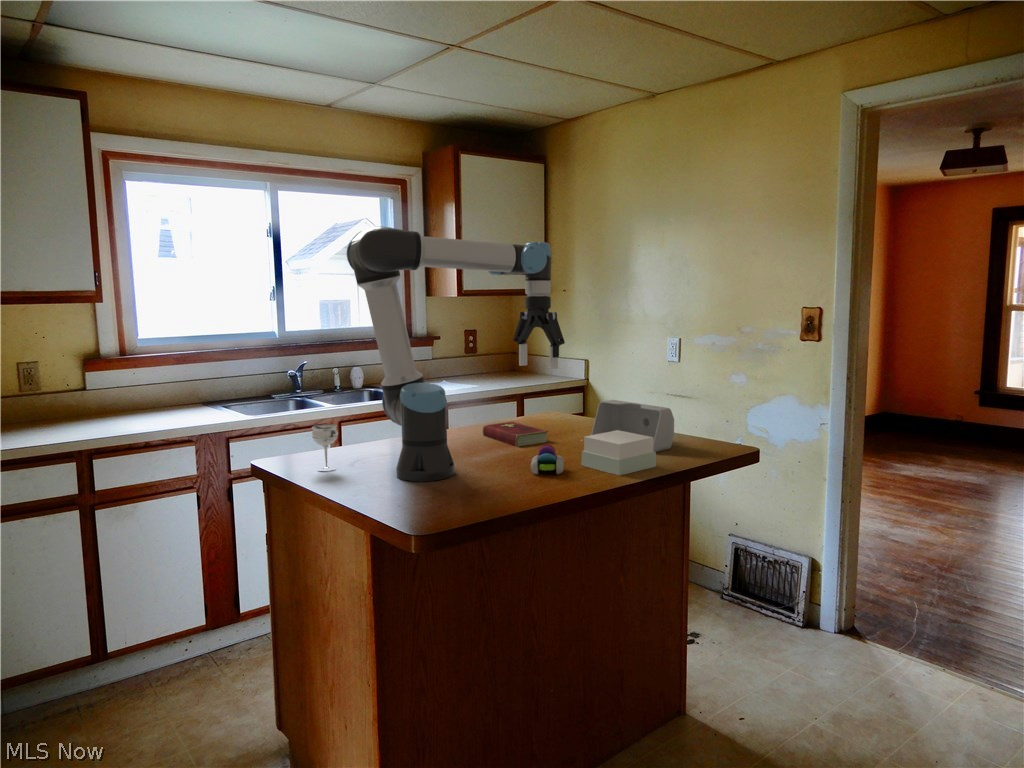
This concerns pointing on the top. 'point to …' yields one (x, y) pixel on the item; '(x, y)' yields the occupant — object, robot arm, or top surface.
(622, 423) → the light grey storage bin
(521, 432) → the hardcover book
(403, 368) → the robot arm
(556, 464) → the chunky wheeled toy
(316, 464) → the top surface
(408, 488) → the top surface
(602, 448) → the grey square box
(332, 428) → the wineglass
